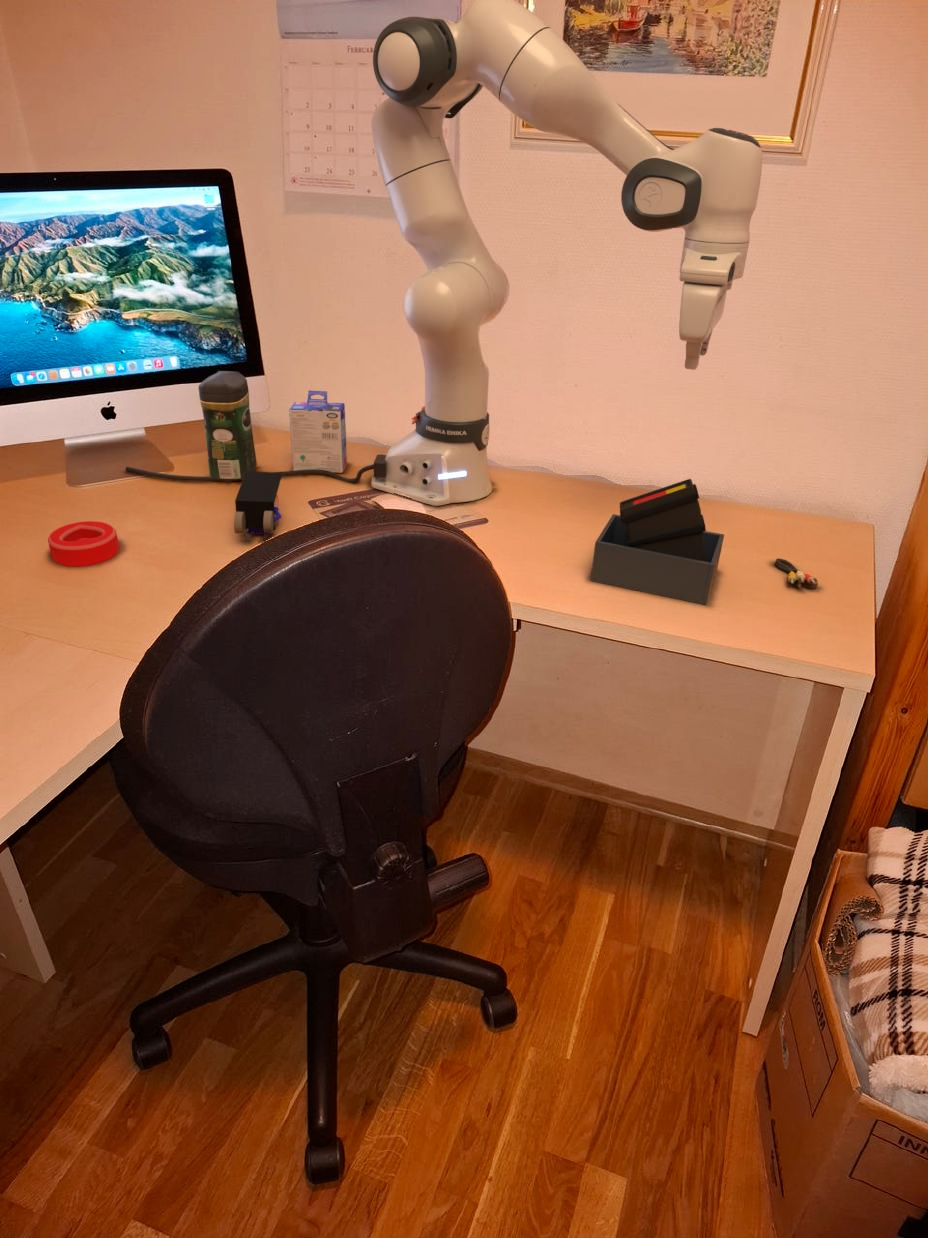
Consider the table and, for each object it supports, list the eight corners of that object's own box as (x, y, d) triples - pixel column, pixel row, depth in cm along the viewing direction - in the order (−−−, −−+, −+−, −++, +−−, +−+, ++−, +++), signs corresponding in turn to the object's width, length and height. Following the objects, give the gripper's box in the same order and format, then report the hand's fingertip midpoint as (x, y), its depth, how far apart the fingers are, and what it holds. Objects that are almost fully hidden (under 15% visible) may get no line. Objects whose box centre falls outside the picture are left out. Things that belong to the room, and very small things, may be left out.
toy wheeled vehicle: (278, 554, 135) (286, 506, 146) (273, 513, 130) (282, 467, 142) (235, 554, 134) (246, 506, 146) (229, 513, 129) (241, 467, 141)
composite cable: (771, 562, 135) (774, 548, 133) (801, 564, 135) (805, 550, 133) (788, 592, 126) (792, 578, 125) (821, 594, 126) (825, 579, 125)
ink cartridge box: (348, 463, 166) (345, 389, 158) (344, 473, 161) (341, 398, 154) (297, 461, 166) (292, 388, 158) (292, 472, 161) (287, 396, 154)
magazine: (724, 575, 126) (695, 486, 119) (637, 600, 130) (606, 516, 123) (721, 563, 129) (693, 476, 123) (636, 589, 133) (605, 505, 127)
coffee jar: (221, 463, 164) (209, 366, 154) (261, 465, 163) (252, 368, 154) (204, 481, 155) (190, 380, 146) (246, 484, 155) (235, 383, 145)
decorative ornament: (98, 533, 136) (94, 515, 134) (131, 551, 131) (128, 533, 129) (39, 552, 129) (35, 533, 128) (72, 572, 124) (67, 553, 123)
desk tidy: (590, 580, 127) (595, 541, 124) (607, 550, 136) (612, 513, 133) (706, 605, 122) (714, 565, 119) (716, 572, 131) (724, 534, 128)
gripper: (700, 251, 129) (685, 344, 136) (678, 269, 112) (662, 373, 119) (743, 254, 127) (725, 348, 134) (727, 273, 110) (708, 379, 118)
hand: (695, 360), depth 127 cm, fingers open, 8 cm apart
